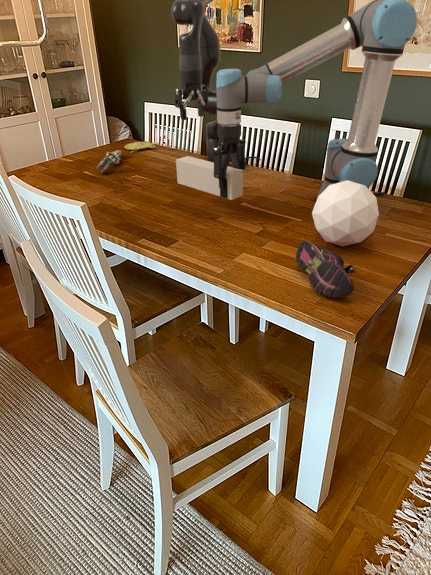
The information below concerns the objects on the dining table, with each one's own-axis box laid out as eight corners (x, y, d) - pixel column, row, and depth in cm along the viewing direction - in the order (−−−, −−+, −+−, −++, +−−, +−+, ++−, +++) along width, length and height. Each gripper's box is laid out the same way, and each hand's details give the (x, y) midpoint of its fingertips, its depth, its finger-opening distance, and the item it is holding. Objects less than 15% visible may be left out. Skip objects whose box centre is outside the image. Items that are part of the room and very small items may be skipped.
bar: (177, 183, 164) (175, 159, 159) (188, 179, 167) (187, 155, 163) (231, 200, 148) (231, 174, 143) (242, 195, 152) (243, 170, 147)
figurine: (101, 154, 197) (119, 141, 223) (91, 167, 200) (110, 152, 227) (114, 165, 199) (130, 151, 225) (103, 178, 203) (121, 162, 229)
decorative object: (138, 138, 251) (166, 140, 241) (139, 142, 252) (166, 144, 242) (113, 146, 236) (141, 149, 226) (113, 151, 237) (142, 154, 228)
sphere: (321, 259, 144) (291, 205, 142) (371, 228, 146) (342, 175, 144) (347, 258, 125) (313, 196, 123) (404, 222, 128) (371, 161, 125)
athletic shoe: (341, 287, 106) (380, 279, 110) (299, 225, 117) (336, 220, 122) (323, 315, 114) (360, 306, 119) (286, 254, 126) (321, 249, 130)
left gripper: (182, 71, 145) (185, 122, 154) (212, 67, 154) (213, 116, 163) (167, 69, 150) (171, 119, 158) (197, 66, 159) (199, 114, 167)
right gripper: (217, 131, 131) (219, 205, 144) (257, 120, 142) (256, 189, 155) (199, 128, 136) (203, 199, 148) (239, 117, 147) (239, 184, 159)
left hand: (192, 118), depth 160 cm, fingers open, 8 cm apart
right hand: (230, 194), depth 151 cm, fingers closed on bar, 6 cm apart
